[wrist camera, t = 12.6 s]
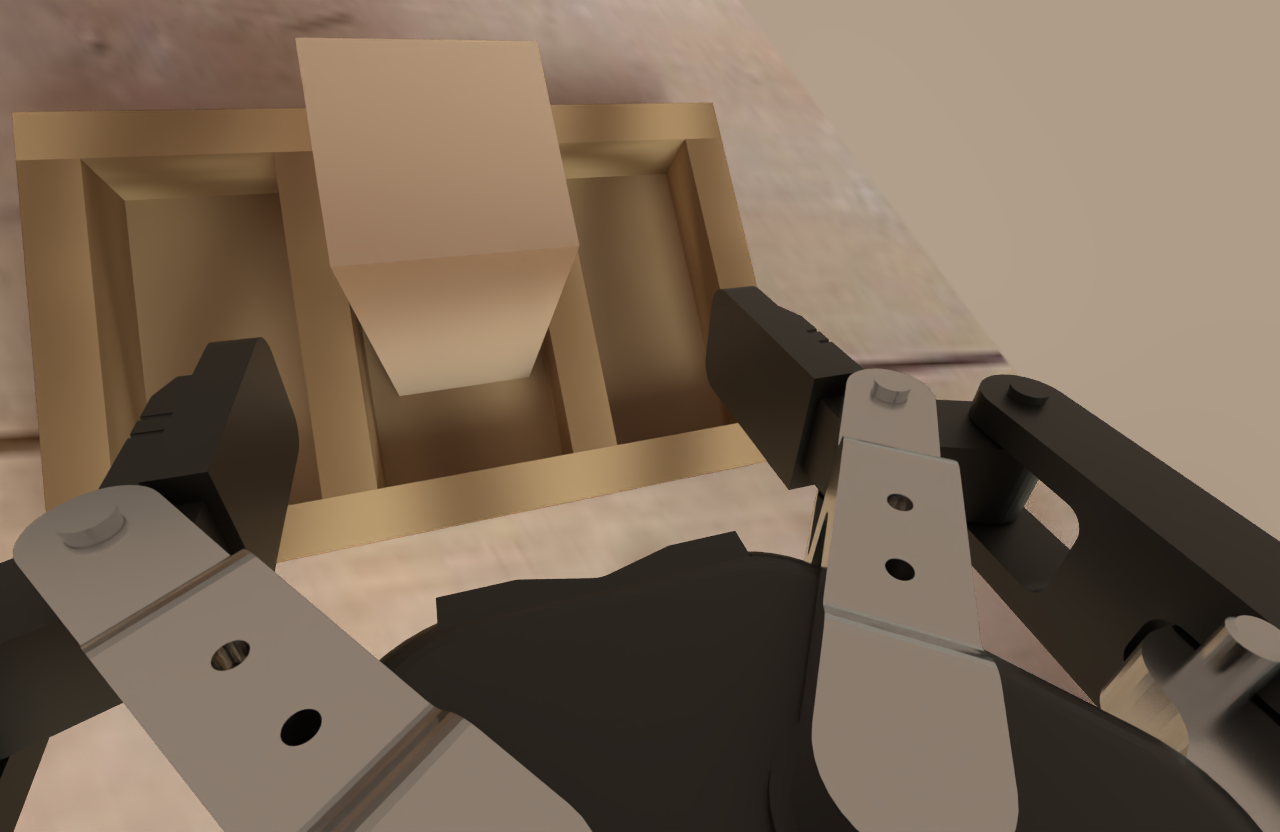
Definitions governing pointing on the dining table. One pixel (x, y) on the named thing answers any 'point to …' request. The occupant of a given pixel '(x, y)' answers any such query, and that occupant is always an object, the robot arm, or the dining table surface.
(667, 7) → the dining table surface
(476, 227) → the block
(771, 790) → the robot arm
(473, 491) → the rack
